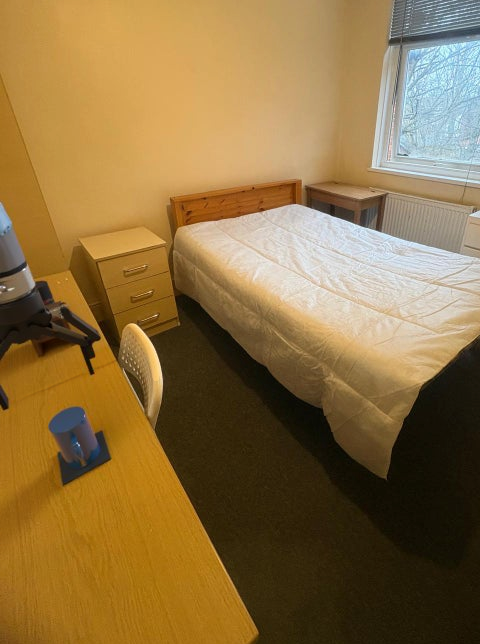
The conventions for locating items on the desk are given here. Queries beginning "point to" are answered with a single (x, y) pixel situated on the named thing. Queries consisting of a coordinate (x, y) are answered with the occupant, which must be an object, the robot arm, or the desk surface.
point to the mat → (72, 474)
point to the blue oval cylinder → (74, 437)
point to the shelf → (42, 338)
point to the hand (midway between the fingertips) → (51, 386)
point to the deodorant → (44, 292)
